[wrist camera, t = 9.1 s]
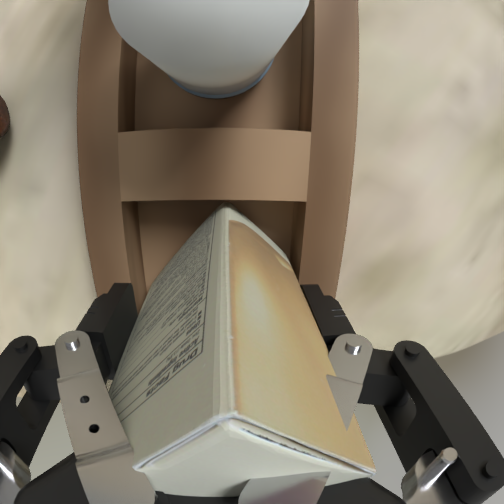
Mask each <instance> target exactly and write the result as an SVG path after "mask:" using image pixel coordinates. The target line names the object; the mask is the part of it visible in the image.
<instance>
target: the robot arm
mask: <svg viewBox="0 0 504 504" xmlns="http://www.w3.org/2000/svg"><path fill="white" fill-rule="evenodd" d="M300 287H301V289H302V291H303V294H304V296H305V298H306V300H307V302H308V305H309V307H310V309H311V312H312V314H313V316H314V319H315V321H316V323H317V326H318V328H319V330H320V333H321V335H322V337H323V340H324V342H325V344H326V346H327V349H328V351H329V354H328V358H329V360H330V362H331V365H332V367H333V369H334V372H335V374H336V377H335V376H332V375H328V374H327V375H326V379H327V381H328V384H329V387H330V389H331V392H332V395H333V397H334V400H335V402H336V405H337V407H338V410H339V413H340V415H341V418H342V420H343V423H344V425H345V428H346V431H347V430H348V427H349V425H350V422H351V419H352V416H353V414H354V411H355V408H356V405H357V403H363V404H372V405H374V406H375V408H376V410H377V413H378V414H379V417H380V419H381V421H382V423H383V425H384V427H385V429H386V431H387V433H388V435H389V437H390V439H391V441H392V444H393V446H394V448H395V450H396V452H397V454H398V456H399V458H400V460H401V463H402V465H403V467H404V469H405V471H406V474H405V476H404V477H403V479H402V483H401V489H402V492H403V500H402V499H401V498H400V497H398V496H397V495H395V494H394V493H392V492H391V491H389V490H387V489H386V488H384V487H383V486H381V485H379V484H378V483H376V482H375V481H373V480H372V479H370V478H368V477H365V478H358V479H354V480H350V481H346V482H341V483H337V484H333V485H328V486H325V484H326V482H327V480H328V478H329V475H330V473H331V471H325V472H310V473H302V474H294V475H286V476H277V477H267V478H253V479H250V480H249V482H248V483H247V484H246V486H245V487H244V489H243V490H242V492H241V494H240V495H239V496H234V497H201V496H183V495H173V494H165V493H164V492H162V491H155V490H154V488H153V487H152V485H151V483H150V482H149V480H148V478H147V476H146V475H145V473H144V472H139V471H135V470H134V469H133V467H132V464H133V458H134V451H133V449H132V447H131V445H130V443H129V441H128V438H127V436H126V434H125V432H124V429H123V427H122V425H121V423H120V420H119V418H118V416H117V413H116V411H115V408H114V405H113V403H112V400H111V398H110V395H109V392H108V389H107V387H106V383H107V380H108V379H110V380H113V379H114V376H115V374H116V371H117V368H118V366H119V363H120V360H121V358H122V355H123V353H124V350H125V347H126V345H127V342H128V340H129V337H130V335H131V332H132V330H133V328H134V325H135V323H136V320H137V318H138V313H137V307H136V302H135V296H134V290H133V285H132V284H131V283H114V284H113V285H112V287H111V288H110V290H109V292H108V293H103V294H102V295H100V296H99V297H98V298H96V299H95V300H94V302H93V303H92V305H91V308H89V310H88V311H87V314H85V316H84V317H83V319H82V321H81V322H80V324H79V325H78V327H77V329H76V330H75V331H69V332H66V333H64V334H62V335H61V336H60V337H59V338H58V339H57V340H56V342H55V345H52V346H43V347H39V346H38V344H37V341H36V340H35V338H33V337H31V336H21V337H18V338H16V339H14V340H13V341H11V342H10V343H9V345H8V346H7V347H6V348H5V350H4V351H3V352H2V353H1V355H0V504H482V503H483V502H484V501H485V500H487V499H488V498H489V497H491V496H492V495H493V494H494V493H496V492H497V491H498V490H499V489H500V488H502V486H504V458H503V457H502V455H501V453H500V452H499V450H498V449H497V447H496V446H495V444H494V443H493V441H492V440H491V438H490V436H489V435H488V433H487V432H486V430H485V429H484V428H483V426H482V425H481V423H480V422H479V420H478V419H477V417H476V416H475V415H474V413H473V412H472V410H471V409H470V407H469V406H468V404H467V403H466V402H465V400H464V399H463V397H462V396H461V395H460V393H459V392H458V390H457V389H456V388H455V387H454V385H453V384H452V382H451V381H450V380H449V378H448V377H447V376H446V374H445V373H444V372H443V370H442V369H441V368H440V367H439V365H438V364H437V362H436V361H435V360H434V358H433V357H432V356H431V355H430V353H429V352H428V351H427V349H426V348H425V347H424V346H422V345H421V344H419V343H417V342H413V341H401V342H399V343H397V344H396V345H395V347H394V350H393V351H386V350H378V349H374V348H373V347H372V344H371V342H370V341H369V340H368V339H366V338H365V337H363V336H361V335H357V334H356V333H355V331H354V330H353V328H352V326H351V324H350V322H349V320H348V318H347V317H346V316H345V313H344V311H343V310H342V308H341V306H340V304H339V302H338V301H337V300H335V299H334V298H333V297H332V296H330V295H323V293H322V291H321V289H320V287H319V285H318V284H301V285H300ZM23 385H24V387H25V389H26V390H27V391H26V393H25V395H24V396H23V398H22V400H21V402H20V403H19V405H18V407H17V406H16V397H17V395H18V393H19V392H20V390H21V388H22V387H23ZM411 398H412V399H411ZM60 400H61V404H62V408H63V412H64V416H65V421H66V424H67V428H68V432H69V436H70V439H71V443H72V446H73V450H74V452H73V453H72V454H71V455H69V456H67V457H66V458H65V459H63V460H62V461H60V462H59V463H57V464H56V465H54V466H53V467H52V468H50V469H49V470H47V471H46V472H44V473H43V474H41V475H40V476H38V477H37V478H35V479H34V480H32V481H30V480H31V473H30V470H29V466H30V463H31V461H32V458H33V456H34V454H35V452H36V449H37V447H38V445H39V443H40V440H41V438H42V436H43V434H44V432H45V430H46V427H47V425H48V423H49V421H50V419H51V417H52V415H53V413H54V411H55V409H56V407H57V405H58V403H59V401H60ZM413 401H414V402H413ZM414 403H415V404H414Z"/></svg>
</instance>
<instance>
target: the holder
mask: <svg viewBox="0 0 504 504" xmlns="http://www.w3.org/2000/svg"><path fill="white" fill-rule="evenodd" d="M358 82H359V18H358V0H310V1H309V5H308V7H307V9H306V12H305V14H304V16H303V17H302V19H301V20H300V22H299V23H298V25H297V26H296V28H295V29H294V30H293V32H292V33H291V34H290V36H289V37H288V39H287V40H286V41H285V43H284V44H283V46H282V47H281V49H280V50H279V51H278V53H277V54H276V56H275V57H274V60H273V62H272V65H271V67H270V68H269V70H268V71H267V73H266V74H265V76H264V77H263V78H262V79H261V81H260V82H259V83H258V84H257V85H255V86H254V87H253V88H251V89H250V90H248V91H247V92H245V93H243V94H241V95H238V96H235V97H232V98H227V99H218V100H215V99H205V98H201V97H197V96H194V95H192V94H190V93H188V92H186V91H185V90H183V89H182V88H181V87H179V86H178V85H177V84H176V83H174V82H173V81H172V80H171V79H170V77H169V76H168V75H167V73H165V72H164V71H163V70H162V69H160V68H159V67H158V66H156V65H155V64H154V63H153V62H151V61H150V60H149V59H147V58H146V57H145V56H143V55H142V54H141V53H139V52H138V51H137V50H135V49H134V48H133V47H131V46H130V45H129V44H128V43H127V42H126V41H125V40H124V39H123V38H122V37H121V36H120V34H119V33H118V31H117V30H116V28H115V26H114V24H113V22H112V20H111V16H110V12H109V4H108V0H87V2H86V8H85V15H84V21H83V29H82V37H81V46H80V57H79V71H78V91H77V142H78V164H79V178H80V190H81V200H82V209H83V217H84V225H85V232H86V239H87V245H88V251H89V257H90V262H91V268H92V273H93V278H94V283H95V288H96V292H97V297H99V296H100V295H102V294H103V293H108V292H109V290H110V288H111V287H112V285H113V284H114V283H131V284H132V285H133V290H134V296H135V302H136V307H137V313H138V315H139V313H140V310H141V308H142V305H143V303H144V301H145V299H146V296H147V294H148V292H149V289H150V287H151V285H152V283H153V281H154V280H155V279H156V278H157V276H158V275H159V274H160V272H161V271H162V270H163V269H164V267H165V266H166V265H167V264H168V262H169V261H170V260H171V259H172V258H173V256H174V255H175V254H176V253H177V252H178V251H179V249H180V248H181V247H182V246H183V245H184V244H185V242H186V241H187V240H188V239H189V238H190V237H191V236H192V234H193V233H194V232H195V231H196V230H197V229H198V228H199V227H200V226H201V225H202V224H203V222H204V221H205V220H206V219H207V218H208V217H209V216H210V215H211V214H212V213H213V212H214V211H215V210H216V209H217V208H218V207H219V206H220V205H221V204H222V203H223V202H229V203H231V204H232V205H233V206H234V207H236V208H237V209H238V210H239V211H240V212H241V213H242V214H244V215H245V216H246V217H247V218H248V219H249V220H250V221H252V222H253V223H254V224H255V225H256V226H257V227H258V228H259V229H260V230H261V231H262V232H263V233H265V234H266V235H267V236H268V237H269V238H270V239H271V240H272V241H273V242H274V243H275V244H276V245H277V246H278V247H279V248H280V249H281V250H282V251H283V252H284V253H285V254H286V255H287V258H288V260H289V262H290V264H291V266H292V269H293V271H294V273H295V276H296V278H297V280H298V283H299V285H301V284H318V285H319V287H320V289H321V291H322V293H323V295H330V296H332V297H333V298H334V299H335V296H336V290H337V285H338V279H339V273H340V267H341V261H342V254H343V248H344V241H345V234H346V227H347V219H348V211H349V203H350V194H351V185H352V176H353V165H354V154H355V141H356V126H357V108H358Z"/></svg>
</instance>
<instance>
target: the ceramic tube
mask: <svg viewBox="0 0 504 504" xmlns="http://www.w3.org/2000/svg"><path fill="white" fill-rule="evenodd" d="M309 1H310V0H108V4H109V12H110V16H111V20H112V22H113V24H114V26H115V28H116V30H117V31H118V33H119V34H120V36H121V37H122V38H123V39H124V40H125V41H126V42H127V43H128V44H129V45H130V46H131V47H133V48H134V49H135V50H137V51H138V52H139V53H141V54H142V55H143V56H145V57H146V58H147V59H149V60H150V61H151V62H153V63H154V64H155V65H156V66H158V67H159V68H160V69H162V70H163V71H164V72H165V73H167V75H168V76H169V77H170V79H171V80H172V81H173V82H174V83H176V84H177V85H178V86H179V87H181V88H182V89H183V90H185V91H186V92H188V93H190V94H192V95H194V96H197V97H201V98H205V99H215V100H218V99H227V98H232V97H235V96H238V95H241V94H243V93H245V92H247V91H248V90H250V89H251V88H253V87H254V86H255V85H257V84H258V83H259V82H260V81H261V79H262V78H263V77H264V76H265V74H266V73H267V71H268V70H269V68H270V67H271V65H272V62H273V60H274V57H275V56H276V54H277V53H278V51H279V50H280V49H281V47H282V46H283V44H284V43H285V41H286V40H287V39H288V37H289V36H290V34H291V33H292V32H293V30H294V29H295V28H296V26H297V25H298V23H299V22H300V20H301V19H302V17H303V16H304V14H305V12H306V9H307V7H308V5H309Z"/></svg>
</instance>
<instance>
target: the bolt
mask: <svg viewBox="0 0 504 504" xmlns="http://www.w3.org/2000/svg"><path fill="white" fill-rule="evenodd" d="M9 124H10V117H9V111H8V107H7V105H6V103H5V101H4V100H3V98H2V97H1V96H0V138H1V137H2V136H3V135H4V134H5V133H6V132H7V130H8V127H9Z"/></svg>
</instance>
